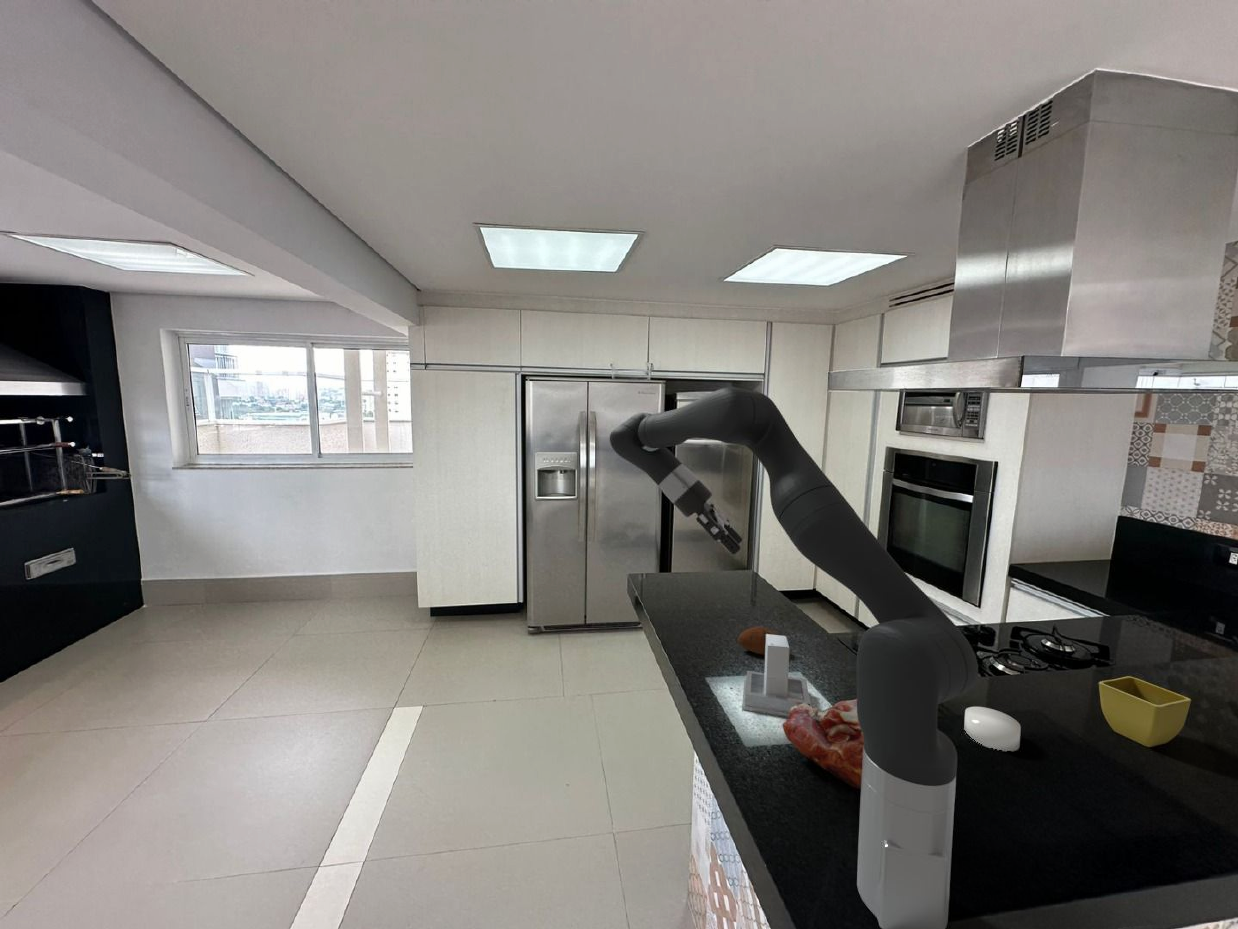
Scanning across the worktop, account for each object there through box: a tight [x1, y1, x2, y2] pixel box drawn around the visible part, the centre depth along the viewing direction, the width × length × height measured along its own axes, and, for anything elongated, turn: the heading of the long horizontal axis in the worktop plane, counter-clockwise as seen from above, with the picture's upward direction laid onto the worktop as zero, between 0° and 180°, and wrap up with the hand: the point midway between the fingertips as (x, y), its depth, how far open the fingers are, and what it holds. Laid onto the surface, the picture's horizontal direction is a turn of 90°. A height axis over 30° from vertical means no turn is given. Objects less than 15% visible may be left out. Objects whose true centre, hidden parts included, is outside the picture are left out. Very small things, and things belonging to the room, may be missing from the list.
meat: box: [782, 698, 863, 790], centre depth 85 cm, size 21×21×10 cm
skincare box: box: [763, 634, 790, 698], centre depth 100 cm, size 6×4×12 cm
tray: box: [741, 670, 812, 718], centre depth 101 cm, size 11×13×3 cm
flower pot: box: [1098, 675, 1192, 748], centre depth 89 cm, size 9×9×9 cm
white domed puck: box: [963, 706, 1022, 752], centre depth 89 cm, size 8×8×4 cm
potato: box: [737, 626, 782, 656], centre depth 122 cm, size 6×12×6 cm, turn 87°
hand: (738, 547), depth 104 cm, fingers open, 8 cm apart
